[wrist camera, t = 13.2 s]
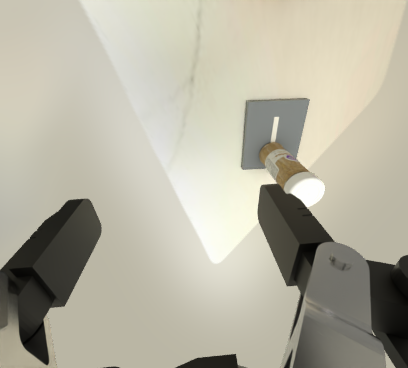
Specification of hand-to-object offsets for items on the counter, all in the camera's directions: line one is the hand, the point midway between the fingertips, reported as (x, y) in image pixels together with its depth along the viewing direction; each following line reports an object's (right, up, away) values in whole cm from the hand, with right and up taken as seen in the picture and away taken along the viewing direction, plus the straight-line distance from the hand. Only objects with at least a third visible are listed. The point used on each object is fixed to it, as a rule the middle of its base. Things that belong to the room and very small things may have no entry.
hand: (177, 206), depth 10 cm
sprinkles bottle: (+13, +7, +27) cm, 31 cm away
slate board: (+13, +10, +26) cm, 31 cm away
